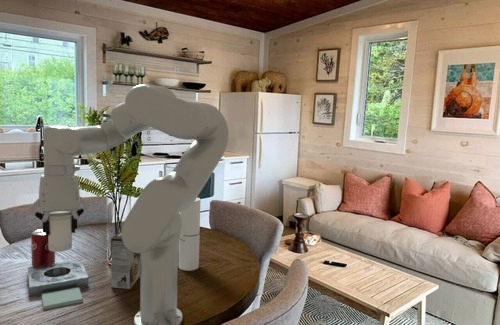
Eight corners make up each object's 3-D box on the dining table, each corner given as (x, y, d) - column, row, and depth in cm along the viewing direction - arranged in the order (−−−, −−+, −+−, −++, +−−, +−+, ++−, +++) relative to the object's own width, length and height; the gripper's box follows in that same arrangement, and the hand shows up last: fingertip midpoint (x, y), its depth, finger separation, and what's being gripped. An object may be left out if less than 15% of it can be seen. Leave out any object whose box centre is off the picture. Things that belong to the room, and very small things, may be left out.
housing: (88, 286, 120) (88, 277, 120) (29, 297, 112) (29, 287, 112) (80, 267, 134) (80, 259, 134) (28, 276, 126) (27, 267, 125)
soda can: (29, 269, 130) (28, 235, 129) (34, 261, 137) (33, 229, 136) (52, 268, 132) (51, 234, 131) (57, 260, 139) (56, 228, 138)
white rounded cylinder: (73, 249, 109) (73, 215, 107) (49, 253, 106) (48, 217, 104) (70, 243, 114) (70, 210, 112) (47, 246, 111) (47, 212, 109)
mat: (82, 301, 111) (82, 298, 111) (43, 309, 106) (43, 306, 106) (78, 290, 118) (78, 287, 117) (41, 297, 112) (41, 293, 112)
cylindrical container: (194, 271, 135) (196, 202, 132) (175, 269, 136) (176, 200, 133) (201, 264, 142) (203, 197, 139) (183, 261, 143) (184, 196, 140)
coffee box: (121, 275, 129) (121, 229, 127) (140, 276, 129) (140, 230, 127) (110, 287, 120) (110, 238, 118) (130, 289, 120) (130, 239, 118)
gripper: (90, 167, 114) (90, 225, 117) (23, 169, 105) (24, 232, 108) (94, 171, 108) (94, 233, 110) (23, 173, 99) (25, 241, 101)
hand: (60, 232), depth 109 cm, fingers closed on white rounded cylinder, 6 cm apart
